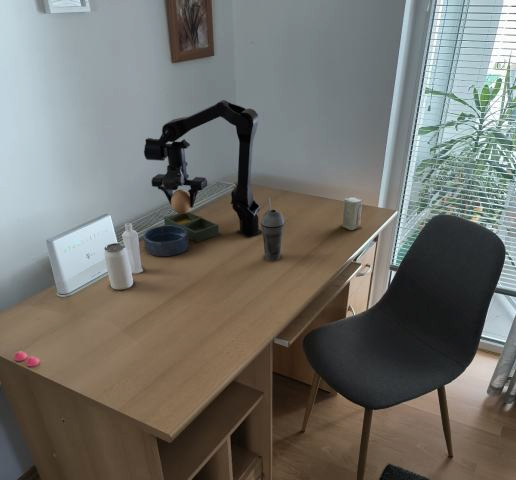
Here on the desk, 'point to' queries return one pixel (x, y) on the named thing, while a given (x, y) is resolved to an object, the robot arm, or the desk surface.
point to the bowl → (166, 240)
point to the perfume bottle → (132, 248)
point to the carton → (193, 225)
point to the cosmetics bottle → (352, 213)
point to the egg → (181, 202)
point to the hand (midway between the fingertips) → (182, 206)
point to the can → (118, 266)
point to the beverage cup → (272, 233)
